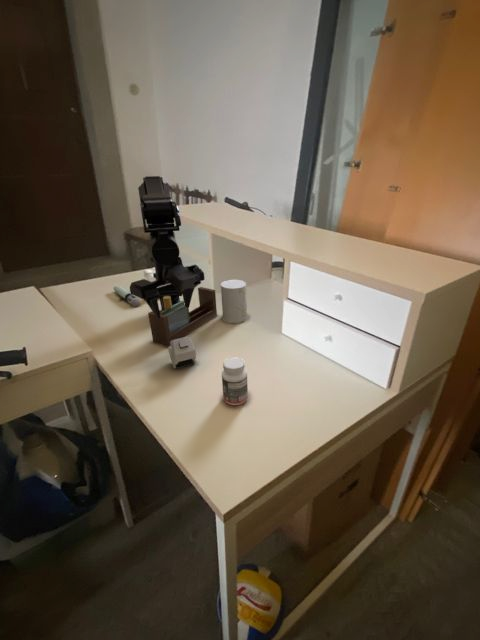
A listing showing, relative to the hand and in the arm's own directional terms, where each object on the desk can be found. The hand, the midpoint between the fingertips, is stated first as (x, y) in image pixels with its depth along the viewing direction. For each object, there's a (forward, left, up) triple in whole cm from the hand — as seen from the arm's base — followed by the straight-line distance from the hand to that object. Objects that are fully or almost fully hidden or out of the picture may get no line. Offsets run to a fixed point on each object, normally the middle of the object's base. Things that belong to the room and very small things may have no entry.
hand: (173, 312), depth 93 cm
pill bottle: (+25, -9, -13) cm, 29 cm away
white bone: (-38, +32, -13) cm, 52 cm away
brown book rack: (-8, +13, -13) cm, 20 cm away
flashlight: (-44, +20, -13) cm, 50 cm away
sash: (-9, +9, -11) cm, 17 cm away
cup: (+1, +27, -13) cm, 30 cm away
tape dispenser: (+5, -4, -13) cm, 14 cm away
